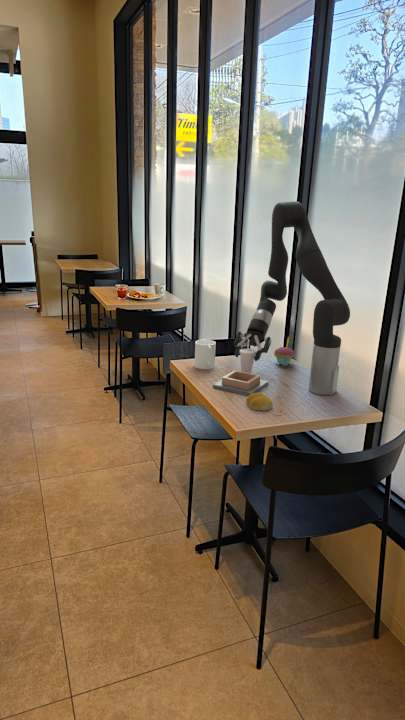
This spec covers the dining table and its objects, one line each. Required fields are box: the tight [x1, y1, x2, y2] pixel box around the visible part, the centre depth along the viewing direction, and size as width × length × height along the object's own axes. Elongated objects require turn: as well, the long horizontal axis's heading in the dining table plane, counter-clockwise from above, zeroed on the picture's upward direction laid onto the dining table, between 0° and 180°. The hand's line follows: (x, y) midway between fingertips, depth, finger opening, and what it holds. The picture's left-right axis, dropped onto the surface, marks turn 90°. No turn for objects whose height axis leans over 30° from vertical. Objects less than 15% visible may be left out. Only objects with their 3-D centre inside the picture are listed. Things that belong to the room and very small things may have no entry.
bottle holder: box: [212, 369, 269, 397], centre depth 175 cm, size 15×15×4 cm
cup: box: [194, 339, 217, 370], centre depth 193 cm, size 8×12×10 cm
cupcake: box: [273, 336, 295, 366], centre depth 202 cm, size 9×8×12 cm
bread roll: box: [245, 392, 273, 412], centre depth 158 cm, size 8×9×4 cm
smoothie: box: [239, 339, 257, 373], centre depth 187 cm, size 6×6×14 cm
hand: (245, 358), depth 185 cm, fingers open, 7 cm apart
